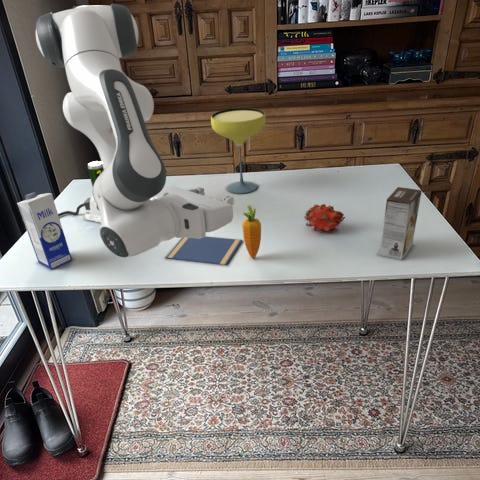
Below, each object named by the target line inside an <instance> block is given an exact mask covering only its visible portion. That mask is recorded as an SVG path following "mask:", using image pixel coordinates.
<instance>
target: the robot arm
mask: <svg viewBox="0 0 480 480" xmlns="http://www.w3.org/2000/svg"><path fill="white" fill-rule="evenodd" d="M35 40H36V41H35V42H36V45H37V47H38V49H39V52H40V53H41V55H42V56H43V58H44V59H45V61H46V62H47V63H48V64H49V65H51V66H52V67H54V68H61V69H62V68H63V69H64V70H65V75H66V78H67V82H68V86H69V89H70V92H68V93H67V92H66V94H65V95H64V98H63V102H62V112H63V115H64V118H65V120H66V121H67V123H68V124H69V125H70V126H71V127H72V128H73V129H75V130H76V131H79V132H81V133H82V134H83V135H85V136H86V137H87V138H88V139H89V140H90V141H91V142H92V143H93V145H94V146H95V148H96V150H97V152H98V155H99V158H100V162H102V165H103V168H104V170H103V172H102V173H101V174H100V175H99V177H98V178H97V179H96V181H95V182H94V185H93V187H92V195H91V196H90V197H86V199H85V201H84V202H83V203H81V204H79V205H77V207H76V211H71V210H65V211H62V212H58V216H59V217H61V216H64V215H73V216H77V215H78V214H79V213H80V210H81V208H83V207H84V208H85V211H86V212H85V214H84V219H85V220H87V221H91V222H96V223H100V228H99V235H100V238H101V240H102V242H103V244H104V246H105V247H106V249H108V250H109V252H111V253H112V254H113V255H115V256H117V257H120V258H131V257H135V256H139V255H141V254H143V253H146V252H148V251H151V250H152V249H154V248H156V247H158V246H159V245H160V244H161V243H162V242H167V241H170V240H172V239H174V238H178V239H180V238H181V239H182V238H183V237H186V238H195V239H201V238H203V237H207V235H206V234H207V233H212V232H215V231H218V230H219V229H222V228H223V227H225V226H227V225H229V224H230V223H232V221H233V219H234V209H233V205H234V204H235V198H234V197H233V196H230V195H227V196H224V197H223V200H219V199H217V198H213V197H210V196H207V195H205V188H204V187H202V186H198V187H195V188H186V189H184V188H182V187H181V188H180V187H178V186H173V185H172V186H166V187H165V184H166V183H167V170H166V166H165V164H164V161H163V159H162V157H161V155H160V154H159V152H158V150H157V148H156V147H155V145H154V143H153V141H152V139H151V135H150V133H149V131H148V127H147V125H146V122H148V121H150V120H151V118H152V117H153V114H154V110H155V101H154V98H153V95H152V94H151V92H150V91H149V89H148V88H147V87H146V86H144V85H143V84H140V83H138V82H135V80H133V79H131V78H130V77H129V76H127V75H126V74H125V72H124V71H123V69H122V65H121V61H120V59H123V60H124V59H127V58H130V57H132V56H134V55H135V53H136V52H137V50H138V43H139V28H138V25H137V21H136V19H135V17H134V16H133V15H132V13H131V10H130V9H129V8H127V6H126V5H123V4H119V3H118V4H117V3H111V4H110V5H105V4H103V5H102V4H101V5H99V4H98V5H97V4H96V5H83V4H82V5H79V6H76V7H74V8H70V9H66V10H65V9H64V10H62V11H58V12H55V13H52V12H48V13H45V14H42V15H40V16H38V18H37V20H36V22H35Z"/></svg>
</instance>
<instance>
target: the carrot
mask: <svg viewBox="0 0 480 480" xmlns="http://www.w3.org/2000/svg"><path fill="white" fill-rule="evenodd" d="M246 207H247V209H248V211H247V212H243V213H242V215H243V216H244V217H246V218H245V220H244V221H242V223H241V225H242V233H243V234H242V235H243V240H244V245H245V249H246V251H247V253H248V255H249V256H250V258H251V259H252V260H253V259H255V258H256V256H257V255H258V254H259V253H258V252H259V250H260V245H261V241H262V223H261V222H260V220H259V218H255V217H256V212H257V210H256V208H255V207H253V208H252V206H251V205H250V204H248V205H247V206H246Z"/></svg>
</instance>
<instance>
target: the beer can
mask: <svg viewBox="0 0 480 480" xmlns="http://www.w3.org/2000/svg"><path fill="white" fill-rule="evenodd" d="M103 170H104V168H103V165H102V161H101V160H99V161H98V160H95V161H91V162H89V163H87V171H88V174H89V179H90V182H91V186H92V188H93V185H94V182H95V181H96V179H97V178H98V177H99V175H100V174H101V173H102V172H103Z"/></svg>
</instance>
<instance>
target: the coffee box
mask: <svg viewBox="0 0 480 480" xmlns="http://www.w3.org/2000/svg"><path fill="white" fill-rule="evenodd" d="M422 192H423V190H422V189H416V188H408V187H400V186H397V187H396V189H394V191H393V192H391V194H390V195H389V196H388V197H387V199H386V203H385V210H384V217H383V218H384V219H383V225H382V226H383V227H382V232H381V241H380V248H379V256H383V257H387V258H392V259H395V260H400V261H402V260H403V259H404V258H405V256H406V255H407V253H408V252H409V250H410V249H411V248H412V246H413V242H414V237H415V231H416V226H417V220H418V214H419V210H420V204H421V198H422Z"/></svg>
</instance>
